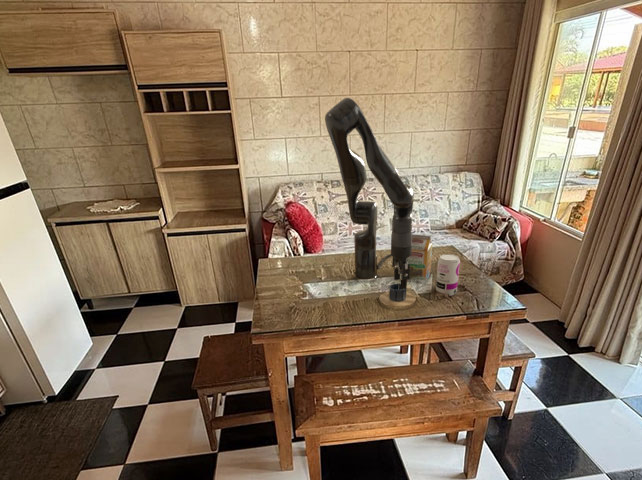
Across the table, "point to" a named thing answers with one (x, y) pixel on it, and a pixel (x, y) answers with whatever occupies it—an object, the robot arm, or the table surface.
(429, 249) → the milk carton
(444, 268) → the supplement can
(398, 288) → the dark grey basket
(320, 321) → the table surface
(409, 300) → the turntable
